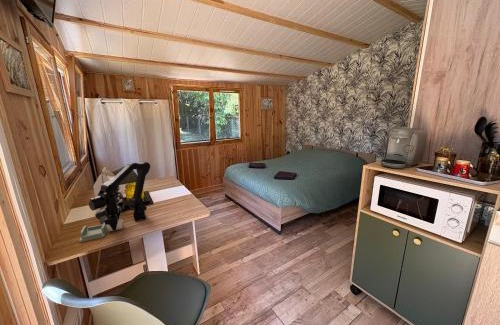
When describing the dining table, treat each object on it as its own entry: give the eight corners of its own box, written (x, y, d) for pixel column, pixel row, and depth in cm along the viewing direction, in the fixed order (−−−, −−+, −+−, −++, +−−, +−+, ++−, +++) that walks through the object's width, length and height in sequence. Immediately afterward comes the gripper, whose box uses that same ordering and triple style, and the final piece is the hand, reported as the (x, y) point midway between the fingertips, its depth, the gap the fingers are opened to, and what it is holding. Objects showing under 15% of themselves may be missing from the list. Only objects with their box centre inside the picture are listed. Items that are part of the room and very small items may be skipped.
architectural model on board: (101, 216, 149) (99, 203, 146) (107, 215, 150) (104, 202, 148) (99, 223, 139) (96, 210, 136) (104, 222, 140) (102, 209, 138)
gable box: (117, 204, 168) (111, 170, 161) (97, 207, 162) (90, 172, 156) (119, 194, 187) (114, 164, 181) (102, 197, 181) (95, 166, 175)
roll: (123, 228, 134) (122, 218, 134) (122, 229, 128) (121, 219, 129) (110, 230, 131) (109, 221, 132) (107, 232, 125) (107, 221, 126)
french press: (126, 205, 165) (121, 177, 159) (125, 210, 157) (120, 180, 151) (108, 208, 160) (102, 179, 154) (106, 213, 151) (100, 183, 146)
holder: (108, 226, 134) (107, 219, 133) (104, 236, 123) (103, 229, 122) (85, 230, 130) (84, 224, 129) (79, 242, 118) (77, 235, 117)
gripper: (98, 200, 131) (103, 223, 134) (91, 213, 114) (96, 238, 118) (119, 197, 135) (123, 219, 139) (114, 208, 119) (119, 233, 122)
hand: (115, 227), depth 129 cm, fingers open, 9 cm apart
